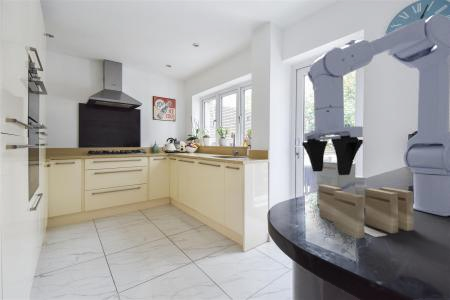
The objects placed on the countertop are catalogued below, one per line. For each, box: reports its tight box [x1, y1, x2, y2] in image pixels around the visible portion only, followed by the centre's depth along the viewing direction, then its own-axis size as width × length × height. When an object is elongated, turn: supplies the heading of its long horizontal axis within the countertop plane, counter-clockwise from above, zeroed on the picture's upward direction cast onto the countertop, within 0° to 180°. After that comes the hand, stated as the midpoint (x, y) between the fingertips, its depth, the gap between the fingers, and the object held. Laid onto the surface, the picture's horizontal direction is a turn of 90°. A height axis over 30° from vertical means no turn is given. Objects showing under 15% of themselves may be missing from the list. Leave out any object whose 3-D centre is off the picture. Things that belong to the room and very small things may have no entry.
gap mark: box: [364, 225, 387, 238], centre depth 38 cm, size 3×6×1 cm, turn 15°
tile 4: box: [333, 191, 366, 240], centre depth 37 cm, size 2×5×7 cm, turn 15°
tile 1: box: [379, 186, 415, 232], centre depth 40 cm, size 2×5×7 cm, turn 15°
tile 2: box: [364, 188, 399, 234], centre depth 39 cm, size 2×5×7 cm, turn 15°
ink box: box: [316, 161, 356, 205], centre depth 54 cm, size 9×5×12 cm, turn 9°
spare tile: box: [318, 185, 342, 223], centre depth 45 cm, size 2×5×7 cm, turn 15°
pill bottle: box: [355, 175, 368, 208], centre depth 55 cm, size 4×4×8 cm
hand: (329, 172), depth 45 cm, fingers open, 7 cm apart
